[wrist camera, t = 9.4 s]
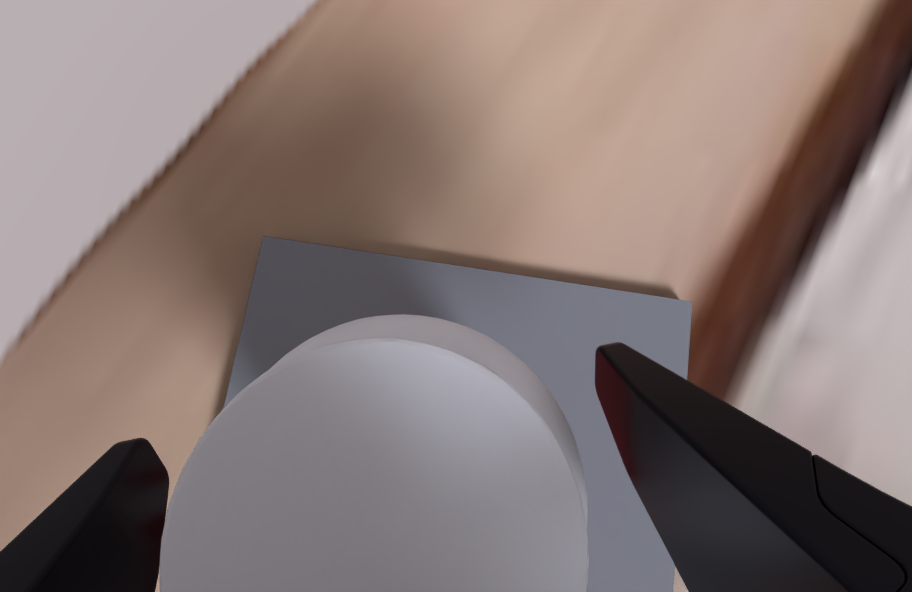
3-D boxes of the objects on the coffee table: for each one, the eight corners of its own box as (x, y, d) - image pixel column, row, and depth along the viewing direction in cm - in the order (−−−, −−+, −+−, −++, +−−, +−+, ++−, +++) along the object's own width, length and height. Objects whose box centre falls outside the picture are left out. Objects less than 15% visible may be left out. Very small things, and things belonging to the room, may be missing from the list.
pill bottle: (515, 578, 16) (654, 929, 5) (304, 558, 16) (16, 867, 5) (529, 364, 17) (666, 295, 7) (333, 345, 17) (146, 245, 7)
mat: (650, 786, 16) (659, 801, 15) (161, 710, 16) (151, 721, 15) (684, 304, 19) (692, 301, 18) (268, 241, 19) (263, 235, 18)
